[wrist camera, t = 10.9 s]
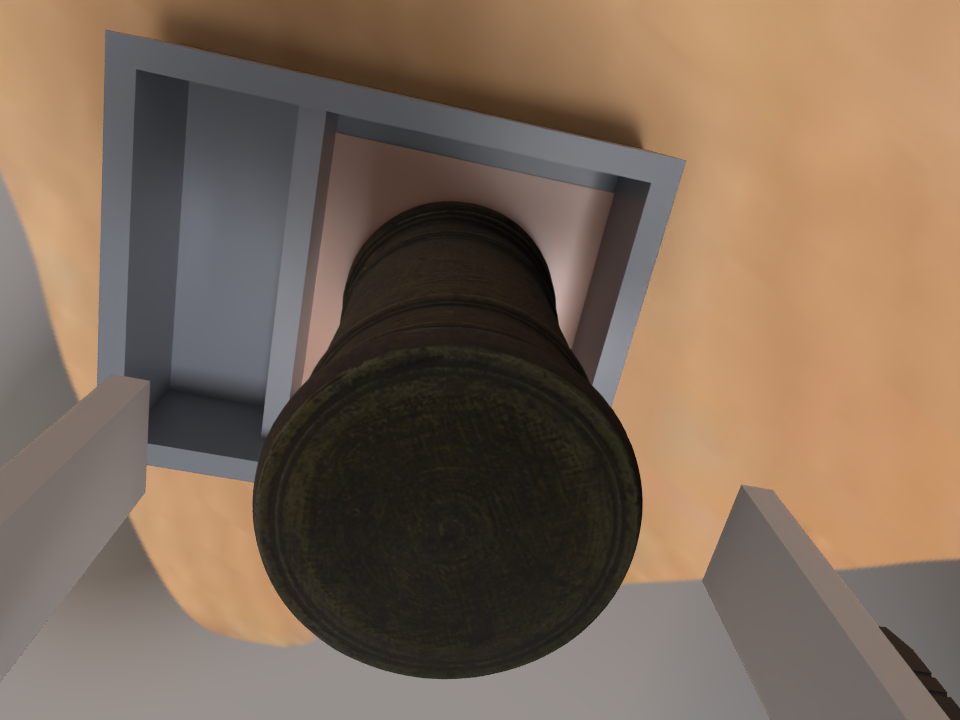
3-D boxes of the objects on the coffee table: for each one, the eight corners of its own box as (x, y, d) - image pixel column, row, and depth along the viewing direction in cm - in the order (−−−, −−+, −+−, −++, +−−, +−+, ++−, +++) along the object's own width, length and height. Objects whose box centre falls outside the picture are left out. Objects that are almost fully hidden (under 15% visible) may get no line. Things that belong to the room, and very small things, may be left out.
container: (308, 285, 31) (133, 513, 14) (466, 153, 29) (481, 232, 12) (438, 425, 34) (422, 758, 17) (590, 312, 32) (742, 557, 15)
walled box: (175, 43, 28) (105, 29, 23) (643, 149, 30) (686, 160, 25) (155, 396, 34) (95, 456, 28) (554, 466, 36) (572, 534, 30)
